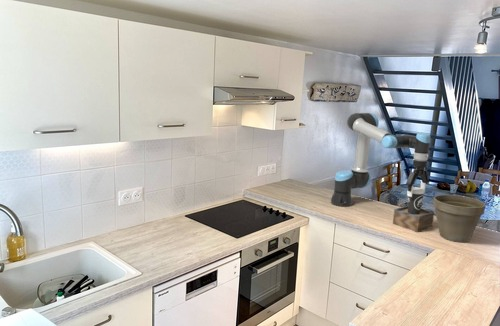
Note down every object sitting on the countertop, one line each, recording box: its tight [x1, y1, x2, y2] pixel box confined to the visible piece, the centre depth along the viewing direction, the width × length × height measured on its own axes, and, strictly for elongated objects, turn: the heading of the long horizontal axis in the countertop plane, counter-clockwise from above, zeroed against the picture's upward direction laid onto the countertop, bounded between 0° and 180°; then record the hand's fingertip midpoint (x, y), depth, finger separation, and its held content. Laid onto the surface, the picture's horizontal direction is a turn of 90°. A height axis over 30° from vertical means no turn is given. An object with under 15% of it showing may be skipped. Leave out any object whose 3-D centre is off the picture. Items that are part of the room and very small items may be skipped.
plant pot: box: [432, 194, 487, 243], centre depth 200 cm, size 25×25×22 cm
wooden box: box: [392, 205, 435, 233], centre depth 218 cm, size 16×16×9 cm
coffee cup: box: [406, 186, 426, 214], centre depth 215 cm, size 10×10×15 cm
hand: (415, 194), depth 215 cm, fingers open, 13 cm apart
